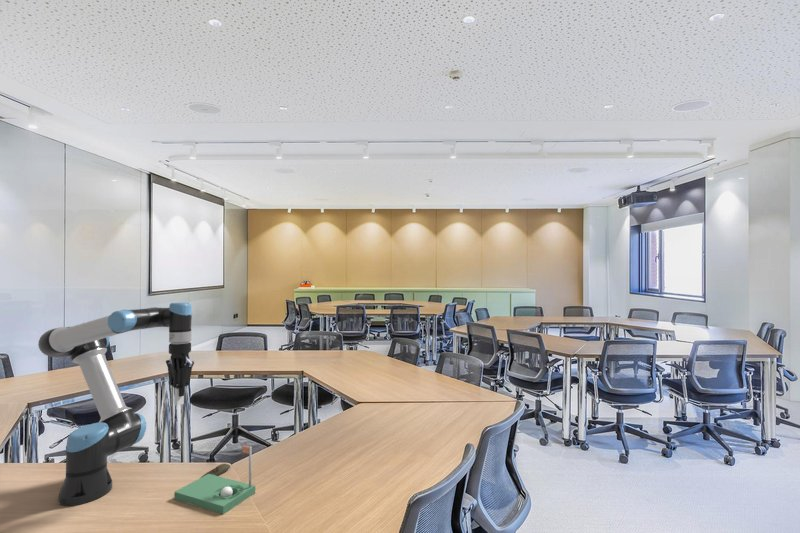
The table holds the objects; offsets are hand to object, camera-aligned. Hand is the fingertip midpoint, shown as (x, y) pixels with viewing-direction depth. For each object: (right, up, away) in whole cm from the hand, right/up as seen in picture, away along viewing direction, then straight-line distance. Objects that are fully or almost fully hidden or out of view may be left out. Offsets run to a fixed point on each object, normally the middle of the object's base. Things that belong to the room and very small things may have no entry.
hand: (179, 404), depth 147 cm
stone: (+11, -30, +5) cm, 32 cm away
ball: (+24, -27, -13) cm, 38 cm away
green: (+19, -29, -11) cm, 36 cm away
